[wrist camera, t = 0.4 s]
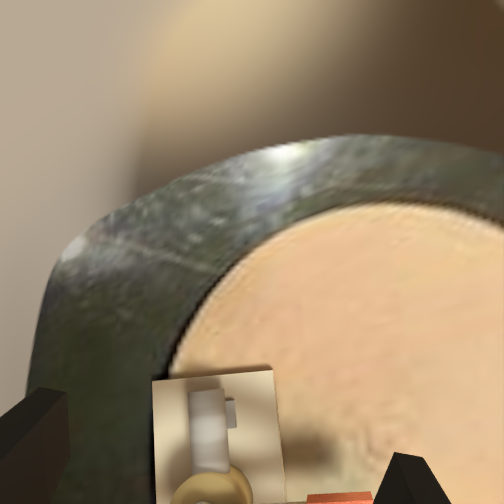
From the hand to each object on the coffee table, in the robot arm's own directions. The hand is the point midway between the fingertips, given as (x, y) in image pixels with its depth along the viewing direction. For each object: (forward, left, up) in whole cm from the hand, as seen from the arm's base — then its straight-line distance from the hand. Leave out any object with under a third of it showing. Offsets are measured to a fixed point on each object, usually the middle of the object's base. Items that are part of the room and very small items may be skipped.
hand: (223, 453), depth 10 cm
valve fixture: (-8, +7, -26) cm, 28 cm away
